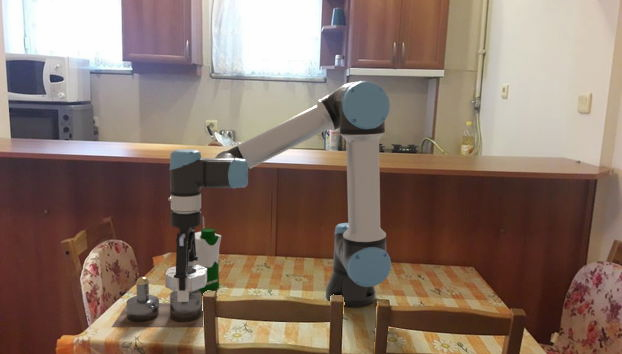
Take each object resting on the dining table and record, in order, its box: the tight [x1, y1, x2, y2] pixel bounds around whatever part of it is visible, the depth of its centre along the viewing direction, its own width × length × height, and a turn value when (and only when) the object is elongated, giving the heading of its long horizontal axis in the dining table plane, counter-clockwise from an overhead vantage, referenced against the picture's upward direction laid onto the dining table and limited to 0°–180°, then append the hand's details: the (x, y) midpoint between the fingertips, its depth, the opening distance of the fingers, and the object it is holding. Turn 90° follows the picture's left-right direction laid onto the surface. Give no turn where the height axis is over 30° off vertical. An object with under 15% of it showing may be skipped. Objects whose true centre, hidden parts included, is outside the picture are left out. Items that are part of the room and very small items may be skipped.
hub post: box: [126, 276, 160, 322], centre depth 126 cm, size 8×8×10 cm
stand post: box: [169, 274, 202, 322], centre depth 127 cm, size 8×8×11 cm
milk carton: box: [193, 227, 222, 295], centre depth 145 cm, size 9×9×20 cm
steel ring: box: [164, 264, 207, 292], centre depth 126 cm, size 10×10×4 cm
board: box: [111, 302, 204, 328], centre depth 128 cm, size 14×24×2 cm, turn 95°
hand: (186, 292), depth 127 cm, fingers closed on steel ring, 10 cm apart
